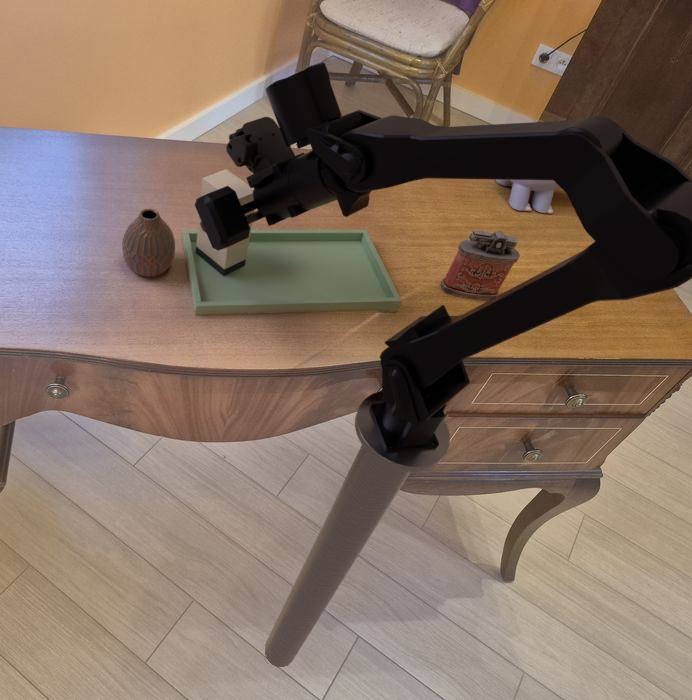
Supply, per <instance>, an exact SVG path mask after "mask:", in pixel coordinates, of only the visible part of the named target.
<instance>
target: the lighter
mask: <svg viewBox="0 0 692 700" xmlns="http://www.w3.org/2000/svg"><path fill="white" fill-rule="evenodd" d="M518 242H519V238H517V236H514V235H513V236H511V235H506V234H505V233H504V232H503V231H502V230H496V231H494V232H490V231H484V230H479V229H473V230H472V231H471V233H470V235H469V236H468V239H463V240H461V241H460V243H459V244H458V246H457V247H458V248H457V249H458V250H457V252H456V254H455V256H454V259H453V260H452V263H451V264H450V267H449V269H448V271H447V273H446V275H445V277H443V279H442V280H441V282H440V284H439V287H440V289H441V291H442V292H444V293H446V294H448V295H452V296H455V297H459V298H464V299H469V300H477V301H478V300H479V301H489V300H491V299H493V298H495V297H497V296H498V295H499V290H500V288H501V286H502V285H503V283H504V281H506V278H507V276H508V274H509V273H510V271H511V270H512V268H513V266H514V265H515V263H517V262H518V260H519V258H520V252H519V251H518V250H517V249H516V247H517V244H519V243H518Z"/></svg>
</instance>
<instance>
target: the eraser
mask: <svg viewBox="0 0 692 700" xmlns="http://www.w3.org/2000/svg"><path fill="white" fill-rule="evenodd" d="M226 186H229V187H230V188H232V189H233V190H234V191H236V194H237V196H238V199H239V201H240V204H241V206H242V205H244V204H246V203H249V202H251V201H253V200H254V199H253V190H254V188H250V186H249V184H248V183H246V181H243V180H242V179H240V177H239V176H236V175H235V174H234V173H232V172H231V171H230V170H228V169H223V170H219V171H217V172H215V173H212V174H210V175H207V176H205V177H204V176H203V177H202V181H201V192H200V197H201V196H203V195H206V194H208V193H211V192H213V191H216V190H218V189H221V188H223V187H226ZM254 212H255V210H253V211H251V212H248V213H246V214H245V216H248V215H249V214H251V213H254ZM200 222H201V219H200V217H199V216H198V224H197V230H198V234H197V244H196V254H197V255H198V256H200V257H201V258H202V259H203V260H205V261H206V262H207V263H208V264H209V265H211V266H212V267H213V268H214V269H215V270H217V271H218V272H219V273H220V274H221V275H223V276H225V275H227V274H229V273H231V272H233V271H235V270H237V269H239V268H241V267H244V266H245V262H246V256H247V250H248V244H249V239H250V233H251V230H252V228H253V227H252V226H253V223H251V224H249V226H250V233H249V238H247V239H244V240H242V241H240V242H238V243H236V244H234V245H231V246H229V247H227V248H224V249H221V250H216V249H214V248H212V245H211V243H210V241H209V238H208V236H207V233H206V232H204V231H203V230H202V228H201V225H200Z"/></svg>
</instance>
